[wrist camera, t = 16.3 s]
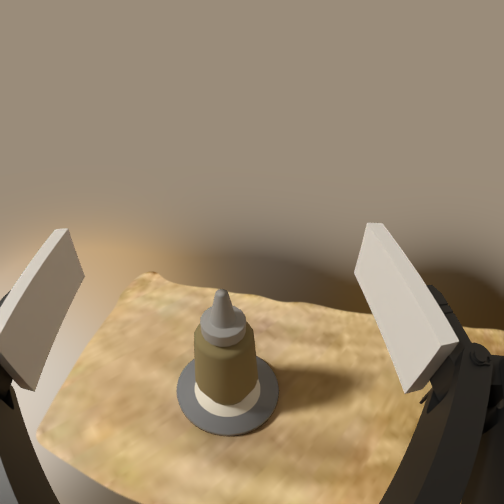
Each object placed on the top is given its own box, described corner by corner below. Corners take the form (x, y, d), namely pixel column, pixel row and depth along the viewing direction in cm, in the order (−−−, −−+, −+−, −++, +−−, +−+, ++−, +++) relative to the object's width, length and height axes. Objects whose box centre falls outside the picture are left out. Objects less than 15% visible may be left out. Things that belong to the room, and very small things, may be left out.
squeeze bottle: (186, 381, 38) (163, 286, 28) (233, 355, 43) (231, 256, 32) (221, 424, 33) (209, 341, 23) (269, 391, 38) (284, 298, 27)
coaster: (293, 419, 35) (294, 416, 34) (189, 446, 31) (188, 443, 31) (259, 343, 46) (259, 339, 45) (170, 361, 42) (169, 358, 41)
